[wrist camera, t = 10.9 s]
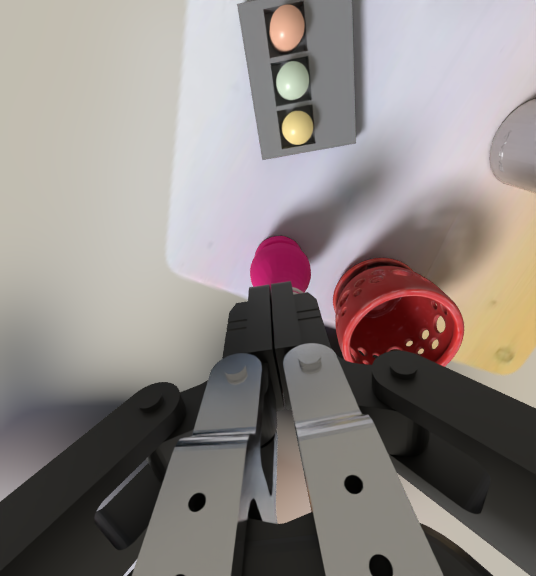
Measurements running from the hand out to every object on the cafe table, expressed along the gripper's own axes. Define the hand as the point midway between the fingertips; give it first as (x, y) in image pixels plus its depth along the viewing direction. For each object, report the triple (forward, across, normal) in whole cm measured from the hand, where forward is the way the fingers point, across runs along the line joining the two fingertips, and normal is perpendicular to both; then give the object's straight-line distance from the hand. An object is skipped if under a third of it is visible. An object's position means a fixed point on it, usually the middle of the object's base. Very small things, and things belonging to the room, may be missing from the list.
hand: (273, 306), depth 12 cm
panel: (+29, -5, -8) cm, 30 cm away
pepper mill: (+29, 0, +11) cm, 31 cm away
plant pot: (+29, -12, +18) cm, 36 cm away
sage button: (+29, -4, -8) cm, 30 cm away
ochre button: (+29, -4, -4) cm, 29 cm away
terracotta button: (+29, -4, -12) cm, 31 cm away
